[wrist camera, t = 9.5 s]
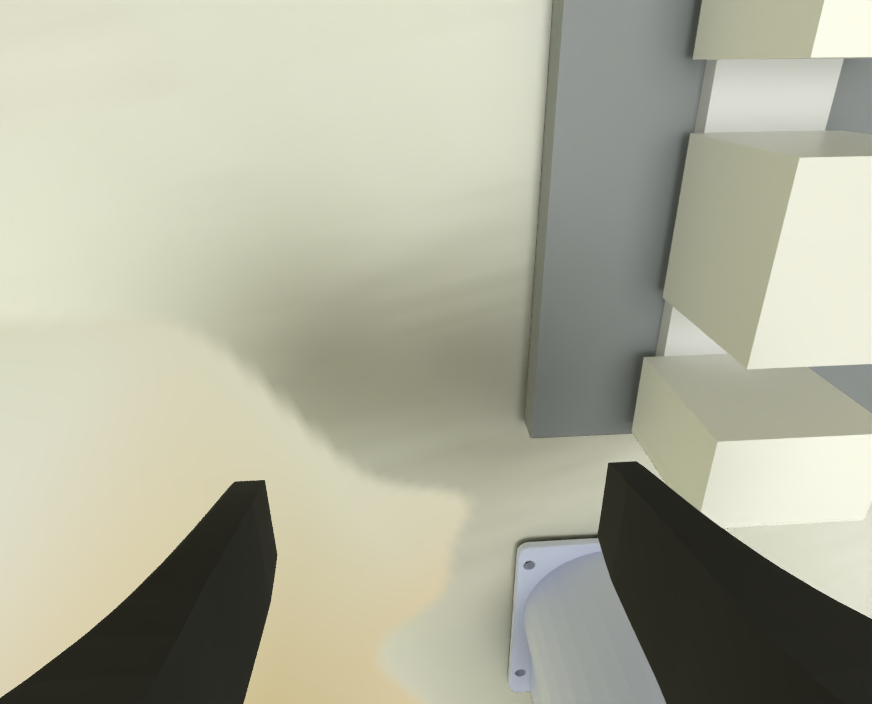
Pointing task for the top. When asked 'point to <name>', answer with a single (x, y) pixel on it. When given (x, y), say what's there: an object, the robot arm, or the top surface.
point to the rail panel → (652, 238)
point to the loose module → (777, 246)
